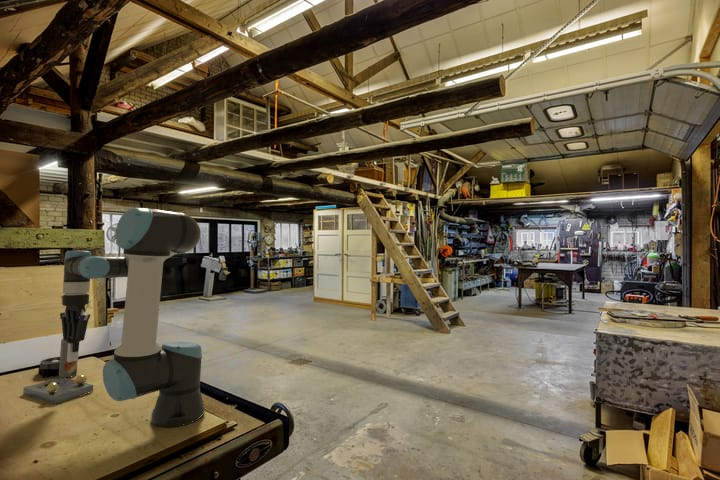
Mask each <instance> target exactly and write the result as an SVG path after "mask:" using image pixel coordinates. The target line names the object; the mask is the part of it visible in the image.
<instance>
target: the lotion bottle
mask: <svg viewBox="0 0 720 480" xmlns="http://www.w3.org/2000/svg"><path fill="white" fill-rule="evenodd" d="M67 348H68V343H67V341H66V340H63V338H62V339H61V341H60V353H59V354H60V355H59V357H60V365H59V375H58V378H59V377H60V378H61V377H64V378H66V377H70V378H72V377H71V376H73V377H75V376H74V375H76V376H77V373H78V364H79V363H78V361H79V359H78V360H77V361H73V362H67V351H68V350H67Z"/></svg>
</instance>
